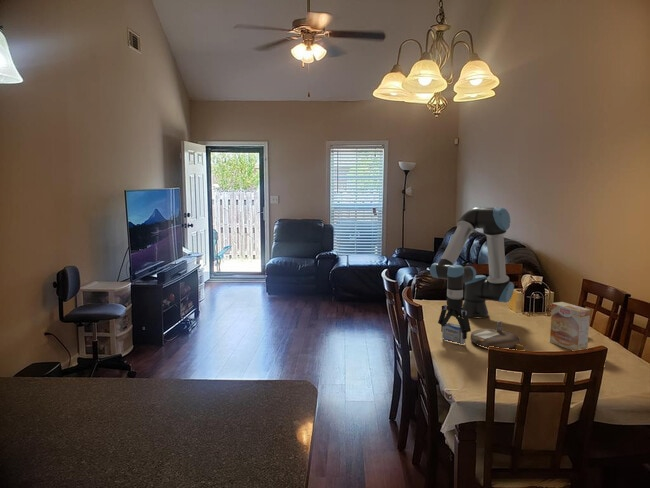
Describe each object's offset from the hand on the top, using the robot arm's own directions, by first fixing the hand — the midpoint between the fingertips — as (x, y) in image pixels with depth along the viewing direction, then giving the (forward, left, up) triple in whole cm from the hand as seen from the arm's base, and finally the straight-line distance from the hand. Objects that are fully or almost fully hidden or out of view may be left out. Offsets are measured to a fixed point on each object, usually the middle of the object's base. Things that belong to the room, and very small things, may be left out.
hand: (453, 341), depth 219 cm
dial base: (+15, +14, 0) cm, 21 cm away
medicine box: (0, 0, 0) cm, 1 cm away
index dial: (+13, +14, +1) cm, 19 cm away
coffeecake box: (+36, +38, 0) cm, 52 cm away
